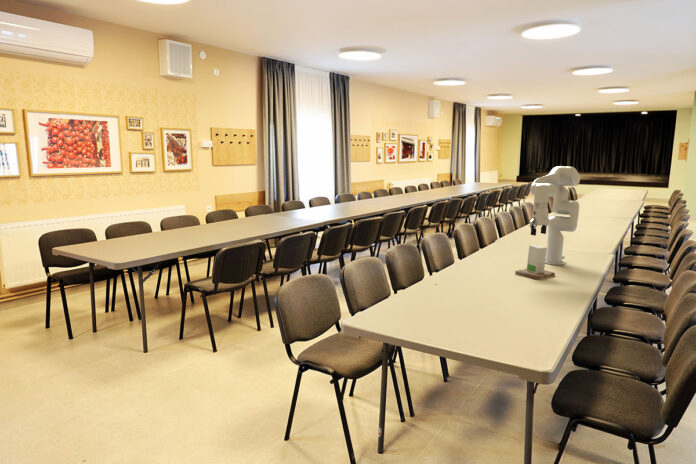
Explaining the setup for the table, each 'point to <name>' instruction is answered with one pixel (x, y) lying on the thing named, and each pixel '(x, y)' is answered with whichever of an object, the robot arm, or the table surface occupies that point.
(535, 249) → the skincare box
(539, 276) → the walnut board
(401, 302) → the table surface
